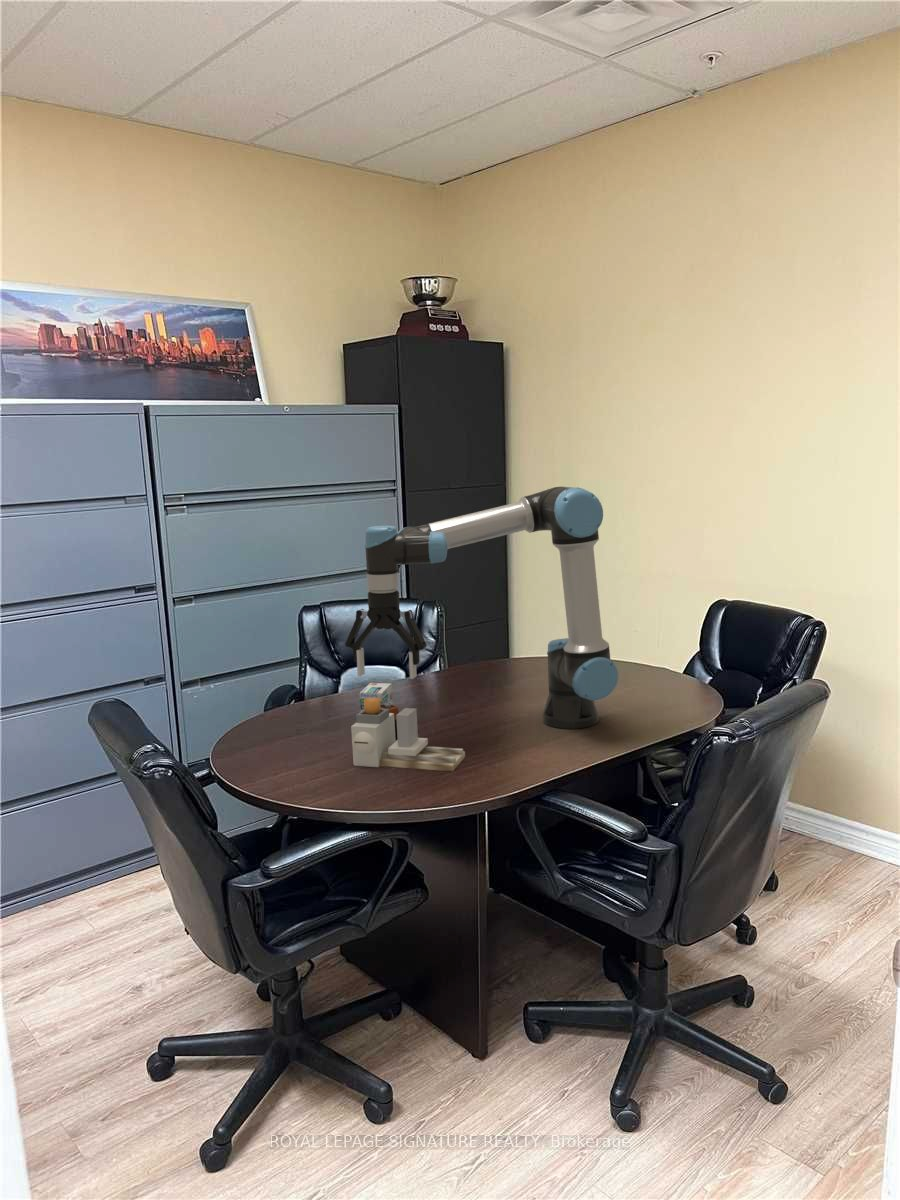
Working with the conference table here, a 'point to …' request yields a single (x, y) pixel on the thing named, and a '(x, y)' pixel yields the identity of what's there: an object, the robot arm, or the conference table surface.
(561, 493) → the robot arm
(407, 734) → the carriage
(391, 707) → the battery
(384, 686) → the light bulb box
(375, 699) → the button
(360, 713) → the cabinet
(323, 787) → the conference table surface
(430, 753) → the rail bed
